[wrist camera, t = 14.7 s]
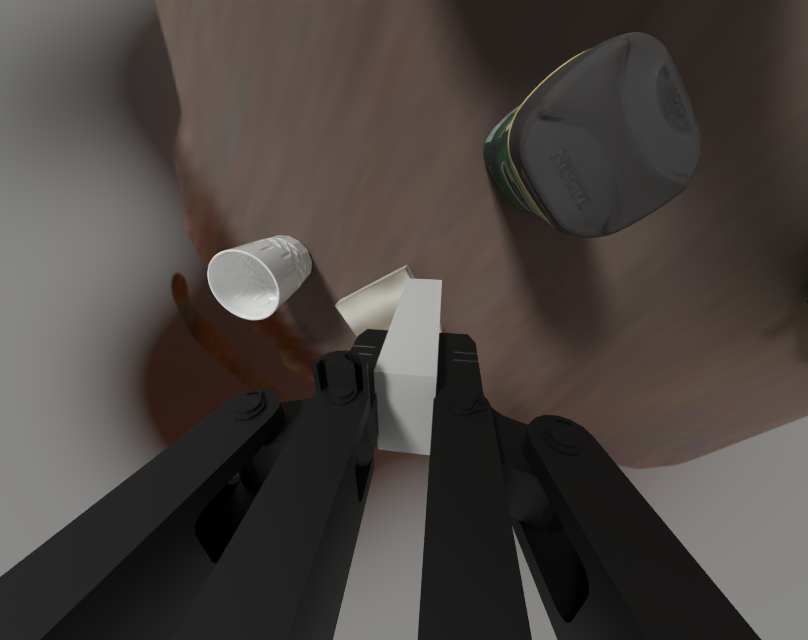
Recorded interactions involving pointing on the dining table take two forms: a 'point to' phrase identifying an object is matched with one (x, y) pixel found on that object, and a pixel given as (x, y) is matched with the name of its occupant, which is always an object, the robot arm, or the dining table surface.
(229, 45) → the dining table surface
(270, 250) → the white cup
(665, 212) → the dining table surface
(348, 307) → the door board
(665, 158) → the coffee jar
